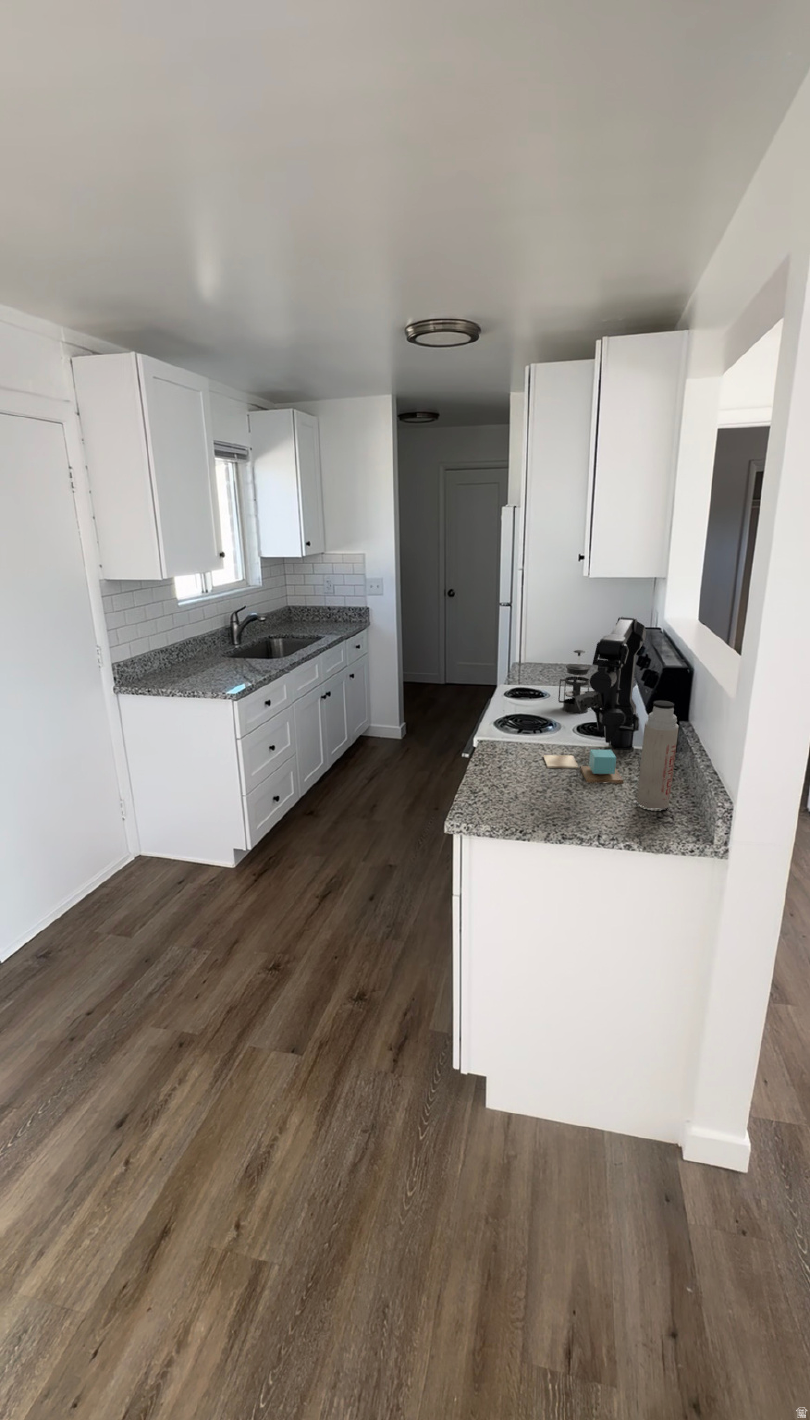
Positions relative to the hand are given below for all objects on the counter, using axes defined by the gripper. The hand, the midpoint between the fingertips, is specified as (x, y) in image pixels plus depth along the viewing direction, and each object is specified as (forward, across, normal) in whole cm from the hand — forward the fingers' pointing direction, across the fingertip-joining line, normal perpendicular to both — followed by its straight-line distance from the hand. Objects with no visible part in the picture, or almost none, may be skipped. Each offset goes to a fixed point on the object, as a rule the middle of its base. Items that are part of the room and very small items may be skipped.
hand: (603, 737), depth 190 cm
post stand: (+12, 0, 0) cm, 12 cm away
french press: (+12, -64, +4) cm, 65 cm away
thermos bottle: (+12, +19, +9) cm, 24 cm away
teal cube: (+10, 0, 0) cm, 10 cm away
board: (+12, -10, -10) cm, 18 cm away
